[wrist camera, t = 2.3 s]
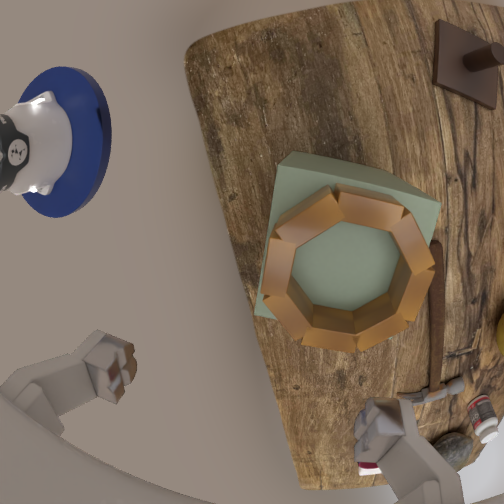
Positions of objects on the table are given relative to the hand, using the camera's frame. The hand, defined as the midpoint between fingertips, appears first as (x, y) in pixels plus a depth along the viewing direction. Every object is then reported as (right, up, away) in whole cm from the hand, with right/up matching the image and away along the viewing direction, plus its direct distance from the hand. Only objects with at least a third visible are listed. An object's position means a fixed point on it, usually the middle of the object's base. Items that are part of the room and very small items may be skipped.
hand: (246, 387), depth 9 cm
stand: (+26, +27, +14) cm, 40 cm away
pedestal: (+9, +10, +25) cm, 28 cm away
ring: (+6, +4, +10) cm, 12 cm away
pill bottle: (+46, -26, +32) cm, 62 cm away
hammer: (+27, -8, +28) cm, 40 cm away
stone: (+45, -41, +39) cm, 72 cm away
